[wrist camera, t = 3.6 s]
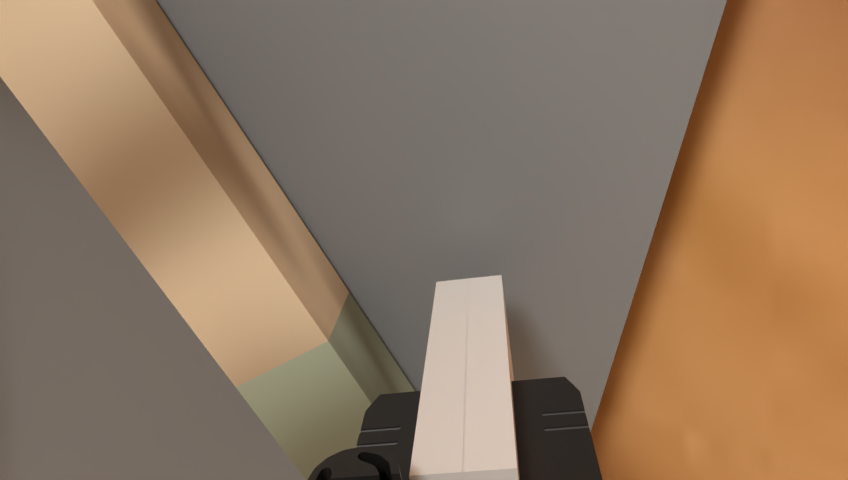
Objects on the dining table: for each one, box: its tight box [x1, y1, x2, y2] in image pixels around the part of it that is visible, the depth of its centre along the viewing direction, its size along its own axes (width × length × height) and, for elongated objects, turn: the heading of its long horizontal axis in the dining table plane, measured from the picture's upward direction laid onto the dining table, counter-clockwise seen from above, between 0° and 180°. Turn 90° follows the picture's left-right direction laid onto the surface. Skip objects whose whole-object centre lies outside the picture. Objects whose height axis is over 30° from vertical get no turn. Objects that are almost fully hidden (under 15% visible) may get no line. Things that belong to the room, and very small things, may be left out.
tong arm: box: [0, 0, 415, 480], centre depth 15 cm, size 15×2×2 cm, turn 30°
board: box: [0, 0, 727, 480], centre depth 17 cm, size 22×22×1 cm
